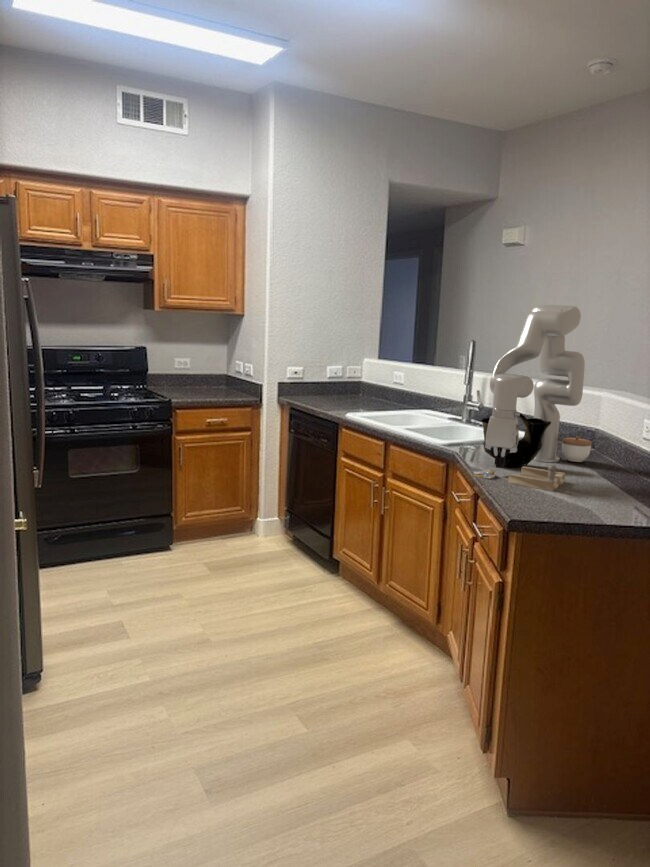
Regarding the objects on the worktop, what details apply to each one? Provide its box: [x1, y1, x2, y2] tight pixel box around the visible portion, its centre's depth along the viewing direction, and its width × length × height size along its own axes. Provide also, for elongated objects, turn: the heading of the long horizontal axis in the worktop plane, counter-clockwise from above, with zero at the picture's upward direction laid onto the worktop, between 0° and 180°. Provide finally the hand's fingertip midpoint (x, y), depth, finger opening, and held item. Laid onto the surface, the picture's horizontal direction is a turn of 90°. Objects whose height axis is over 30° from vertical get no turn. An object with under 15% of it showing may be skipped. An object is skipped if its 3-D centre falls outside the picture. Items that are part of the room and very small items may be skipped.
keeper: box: [507, 464, 566, 492], centre depth 212 cm, size 18×14×8 cm
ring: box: [473, 469, 496, 479], centre depth 218 cm, size 7×3×8 cm
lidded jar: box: [561, 435, 593, 463], centre depth 250 cm, size 11×11×9 cm
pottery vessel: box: [480, 412, 551, 468], centre depth 236 cm, size 25×11×20 cm, turn 91°
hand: (499, 467), depth 220 cm, fingers closed
